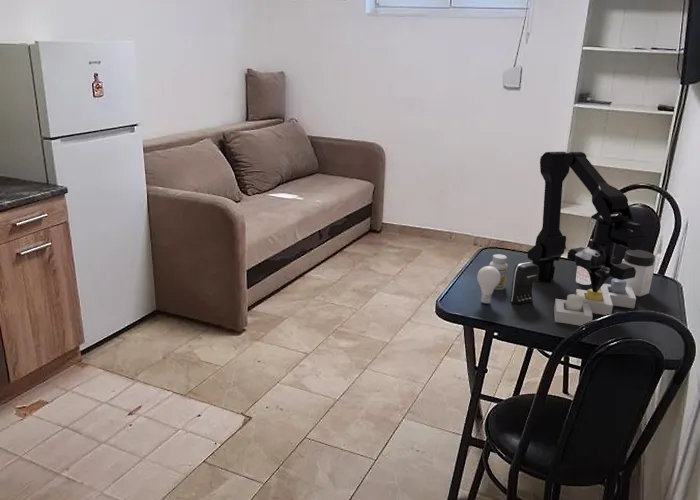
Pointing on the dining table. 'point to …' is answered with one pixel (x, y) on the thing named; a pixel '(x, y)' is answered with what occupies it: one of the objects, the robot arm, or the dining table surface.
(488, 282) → the lightbulb
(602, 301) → the hollow square frame
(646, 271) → the jar
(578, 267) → the beverage cup
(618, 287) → the slate button
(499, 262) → the supplement bottle
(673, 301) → the dining table surface
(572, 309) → the offwhite button
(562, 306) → the offwhite housing
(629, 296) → the light gray housing
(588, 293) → the mustard button
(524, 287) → the battery charger
